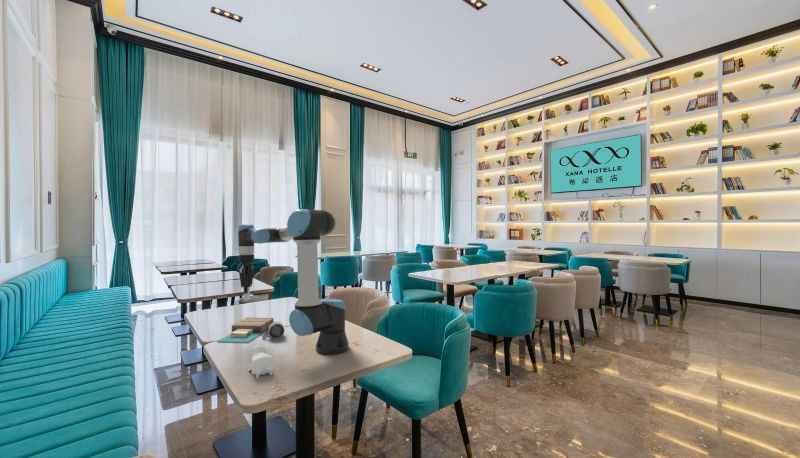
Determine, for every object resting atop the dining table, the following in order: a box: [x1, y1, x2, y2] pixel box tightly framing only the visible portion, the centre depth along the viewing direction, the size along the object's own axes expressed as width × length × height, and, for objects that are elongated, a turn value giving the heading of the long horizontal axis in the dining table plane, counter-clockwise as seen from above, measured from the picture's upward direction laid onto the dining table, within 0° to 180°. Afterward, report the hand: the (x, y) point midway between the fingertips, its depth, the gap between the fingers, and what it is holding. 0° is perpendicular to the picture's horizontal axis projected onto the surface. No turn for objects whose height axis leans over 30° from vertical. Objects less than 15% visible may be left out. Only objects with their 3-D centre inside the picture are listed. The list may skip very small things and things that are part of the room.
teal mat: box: [216, 332, 263, 344], centre depth 179 cm, size 15×16×1 cm
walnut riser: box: [231, 317, 275, 334], centre depth 194 cm, size 16×16×4 cm
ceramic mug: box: [261, 321, 285, 340], centre depth 180 cm, size 11×8×8 cm
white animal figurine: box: [247, 344, 275, 379], centre depth 139 cm, size 9×8×15 cm
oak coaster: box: [230, 329, 253, 337], centre depth 182 cm, size 8×8×2 cm
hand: (246, 299), depth 181 cm, fingers closed
